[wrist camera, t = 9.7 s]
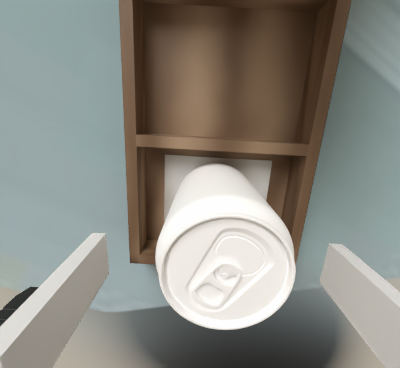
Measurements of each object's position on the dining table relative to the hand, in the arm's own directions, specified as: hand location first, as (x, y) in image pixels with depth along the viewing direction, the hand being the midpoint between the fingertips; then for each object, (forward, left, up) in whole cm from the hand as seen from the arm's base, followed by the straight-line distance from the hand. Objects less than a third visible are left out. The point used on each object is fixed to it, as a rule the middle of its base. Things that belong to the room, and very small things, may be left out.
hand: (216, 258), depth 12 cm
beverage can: (0, 0, -11) cm, 11 cm away
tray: (0, +6, -11) cm, 13 cm away
